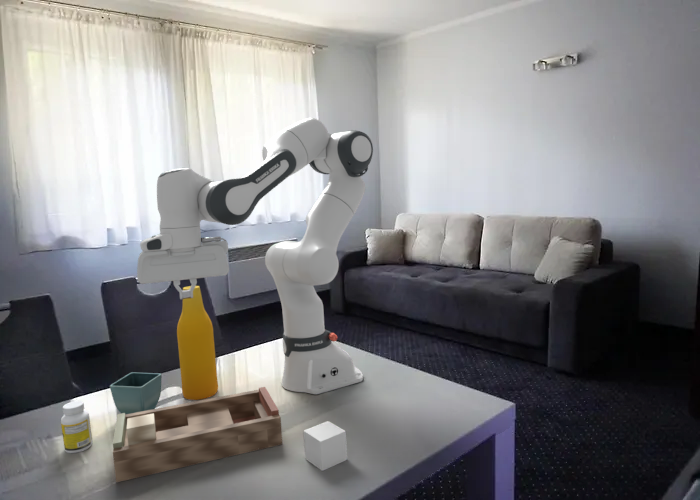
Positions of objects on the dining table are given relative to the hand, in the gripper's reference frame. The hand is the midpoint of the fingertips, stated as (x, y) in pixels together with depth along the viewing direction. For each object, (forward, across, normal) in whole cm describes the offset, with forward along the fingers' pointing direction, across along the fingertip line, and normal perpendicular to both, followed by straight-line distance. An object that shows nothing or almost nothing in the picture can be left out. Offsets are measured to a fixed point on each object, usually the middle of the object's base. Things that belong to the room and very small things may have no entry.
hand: (186, 298), depth 119 cm
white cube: (+29, -22, +32) cm, 49 cm away
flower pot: (+29, +13, -8) cm, 33 cm away
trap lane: (+29, 0, +14) cm, 32 cm away
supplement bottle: (+29, +25, +4) cm, 39 cm away
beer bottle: (+29, -2, -14) cm, 32 cm away
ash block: (+25, +12, +18) cm, 33 cm away
